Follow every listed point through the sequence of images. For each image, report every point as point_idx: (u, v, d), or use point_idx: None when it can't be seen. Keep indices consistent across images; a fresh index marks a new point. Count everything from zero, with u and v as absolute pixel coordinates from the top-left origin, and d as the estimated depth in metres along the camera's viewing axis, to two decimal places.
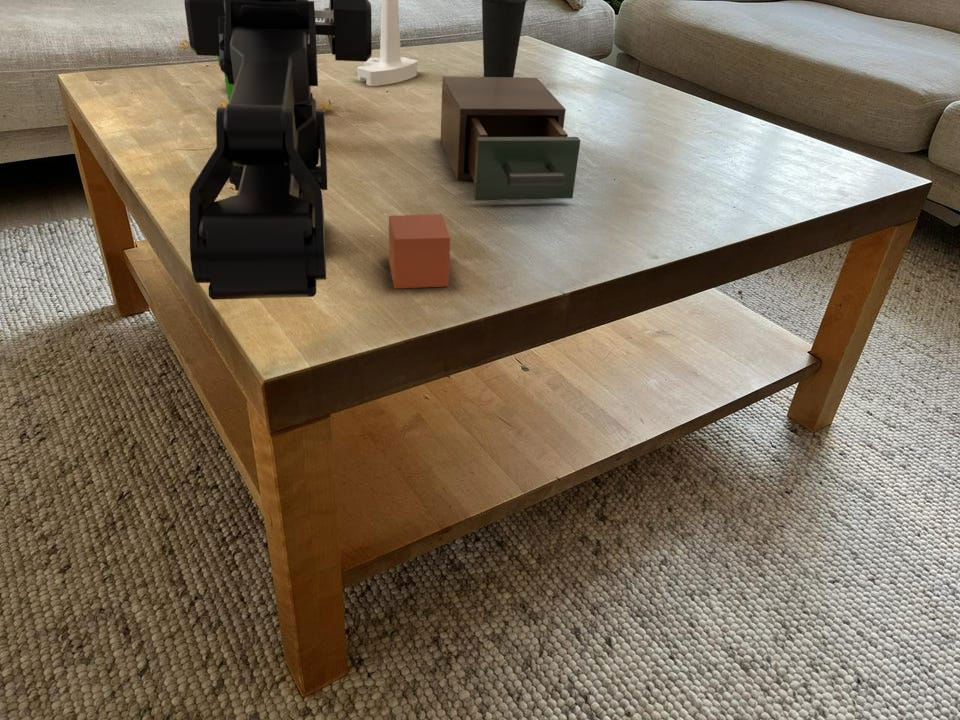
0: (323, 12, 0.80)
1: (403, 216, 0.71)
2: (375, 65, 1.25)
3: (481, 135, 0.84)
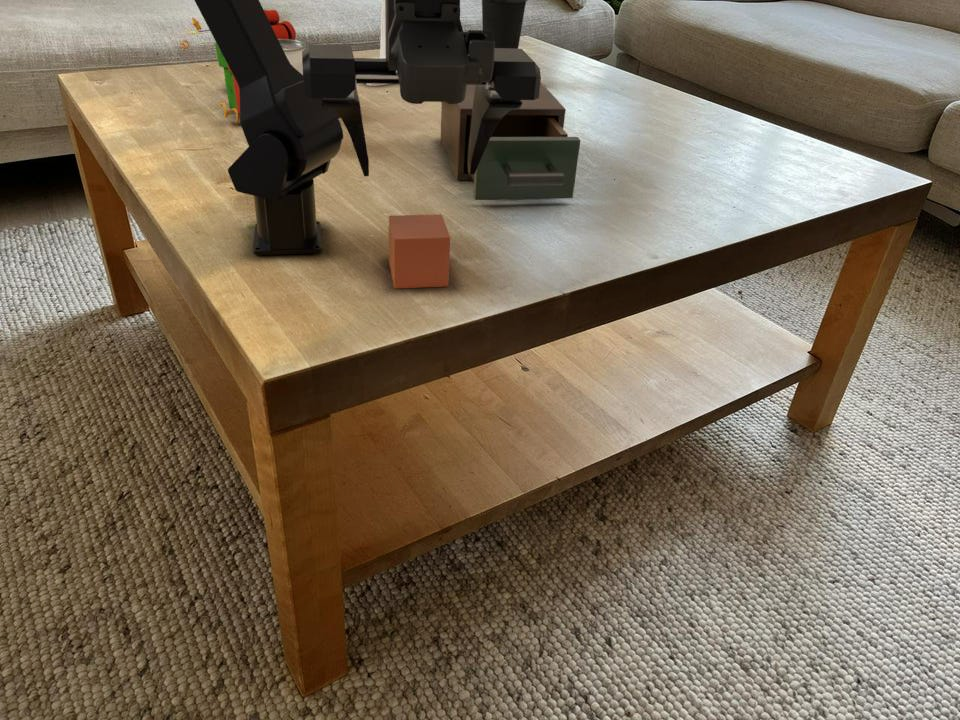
0: (368, 74, 0.59)
1: (403, 216, 0.71)
2: None
3: None
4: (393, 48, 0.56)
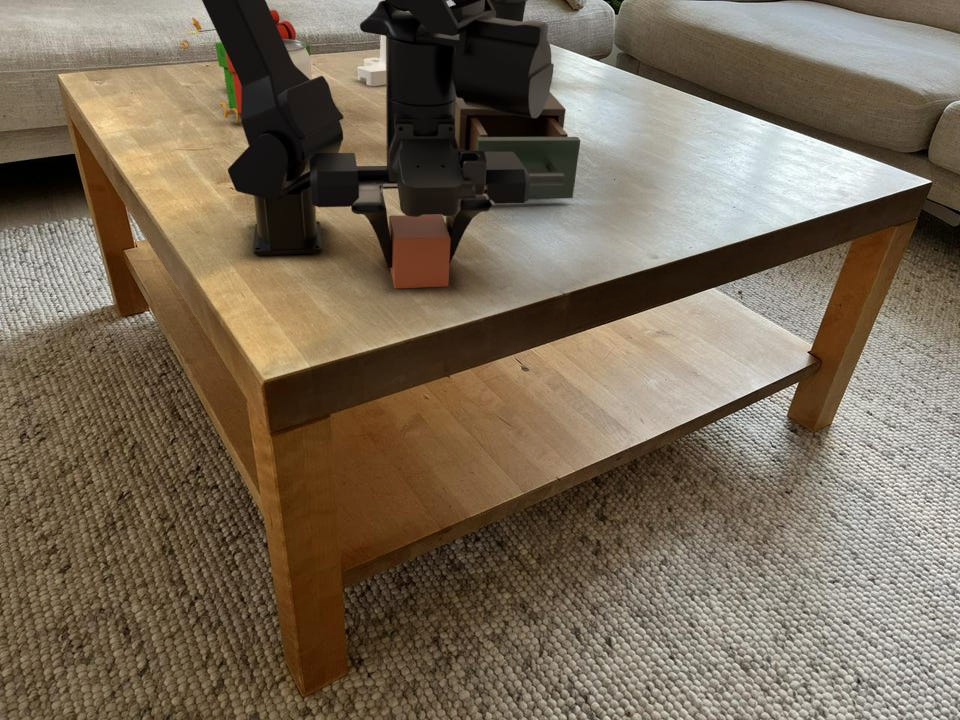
0: (393, 182, 0.65)
1: (403, 216, 0.71)
2: (375, 65, 1.25)
3: (481, 135, 0.84)
4: (393, 164, 0.61)
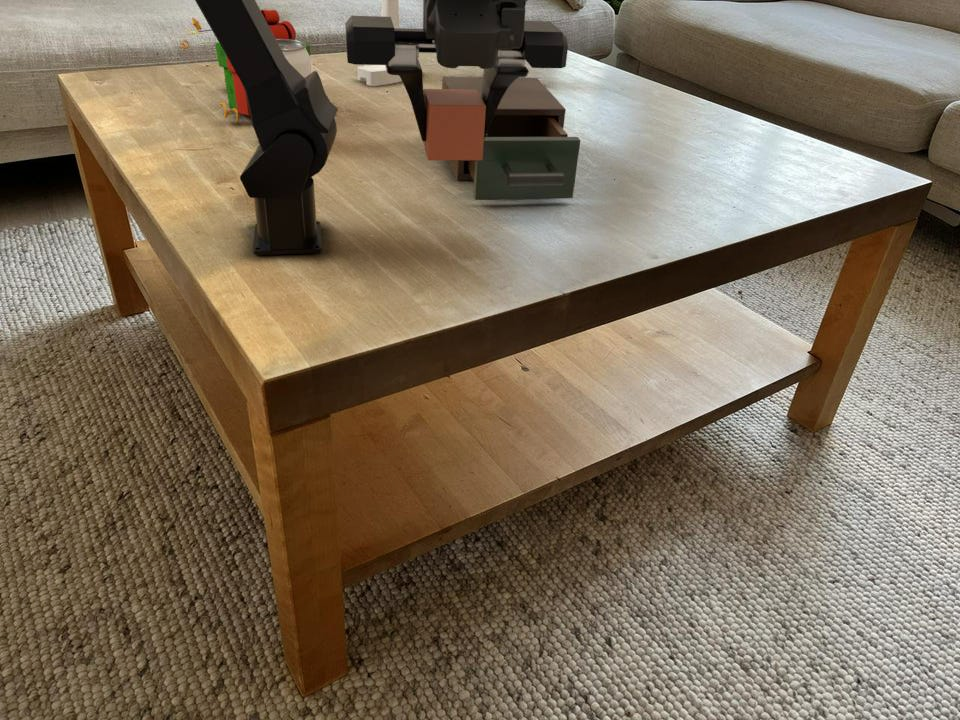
0: (430, 43, 0.64)
1: (438, 89, 0.70)
2: (375, 65, 1.25)
3: None
4: (430, 17, 0.61)
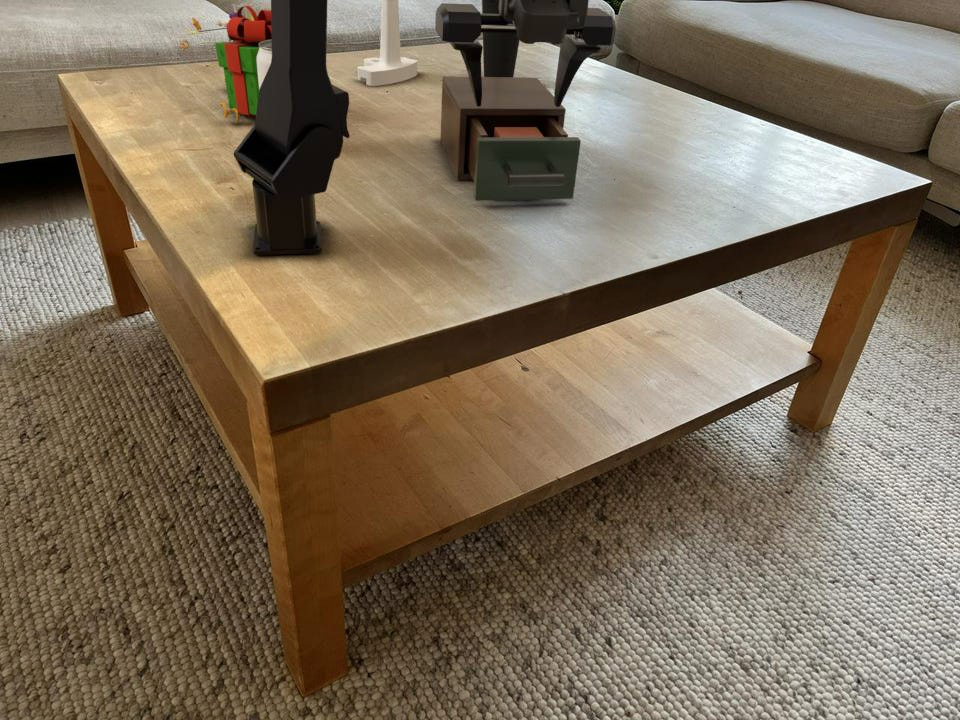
0: (488, 24, 0.79)
1: None
2: (375, 65, 1.25)
3: (481, 135, 0.84)
4: (511, 3, 0.76)
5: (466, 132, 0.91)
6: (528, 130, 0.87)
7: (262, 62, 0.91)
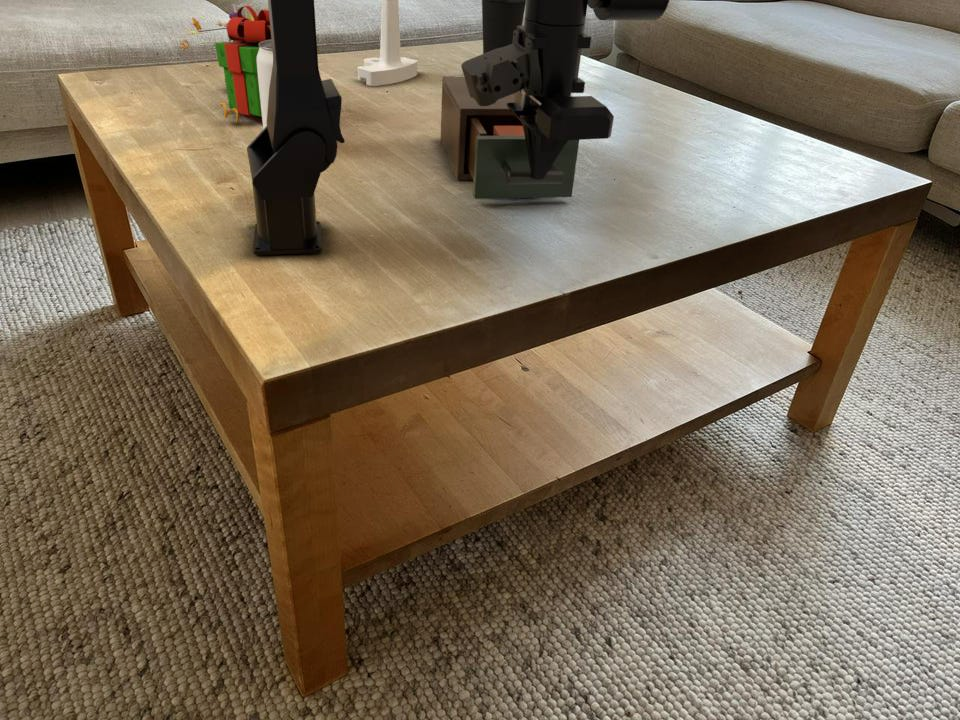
0: None
1: None
2: (375, 65, 1.25)
3: (480, 134, 0.84)
4: None
5: None
6: None
7: (262, 62, 0.91)
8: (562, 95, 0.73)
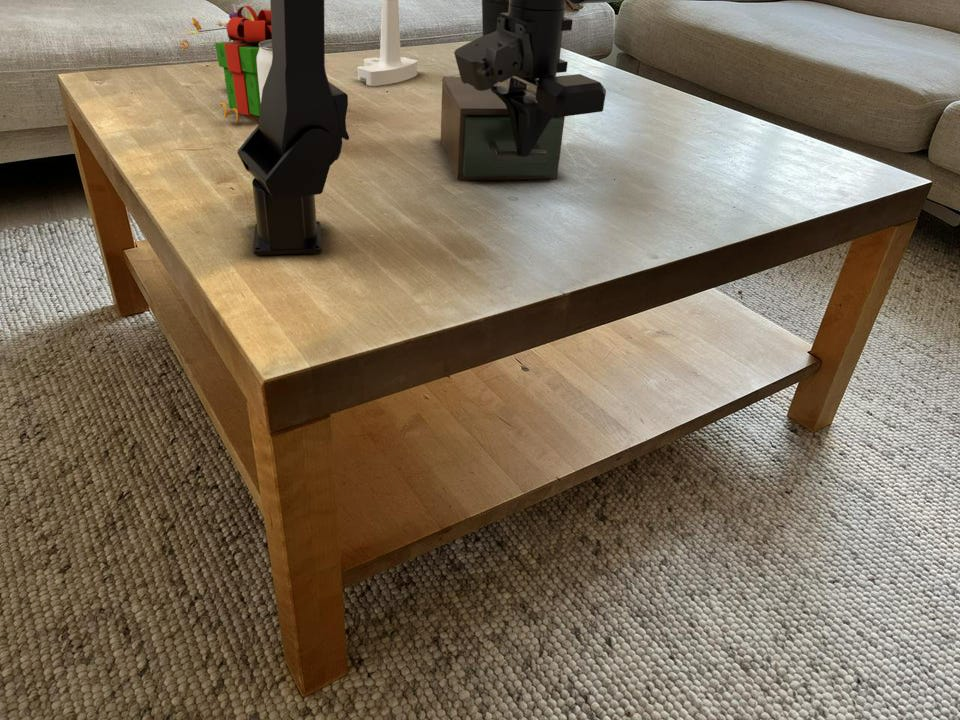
0: (518, 76, 0.80)
1: None
2: (375, 65, 1.25)
3: (469, 115, 0.89)
4: None
5: None
6: None
7: (262, 62, 0.91)
8: (550, 75, 0.79)
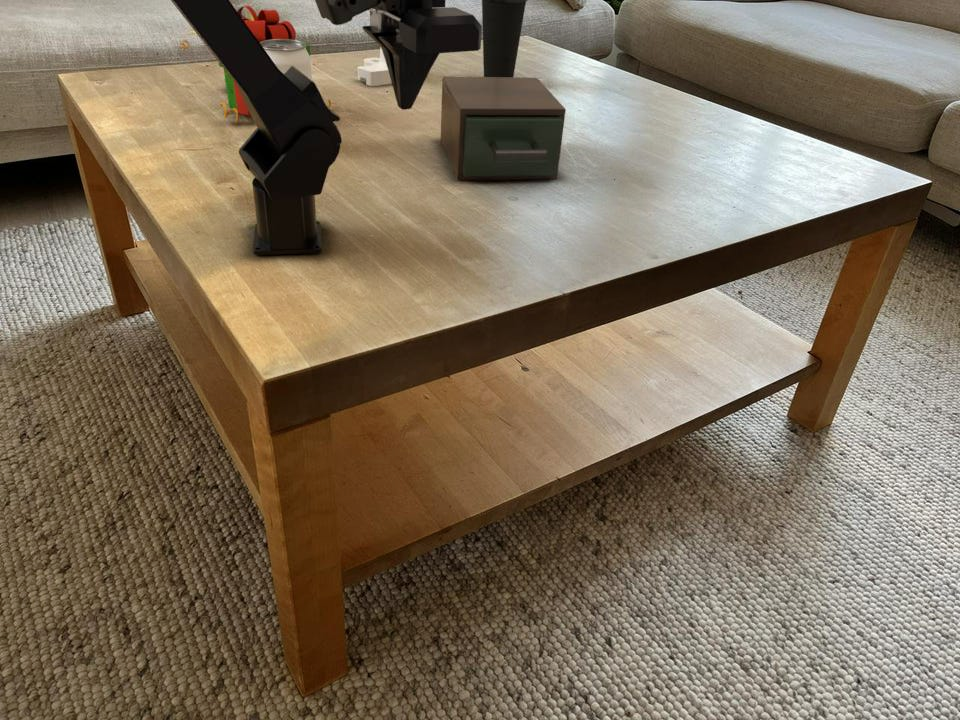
0: (389, 12, 0.69)
1: None
2: (375, 65, 1.25)
3: (469, 115, 0.89)
4: None
5: None
6: None
7: None
8: None
